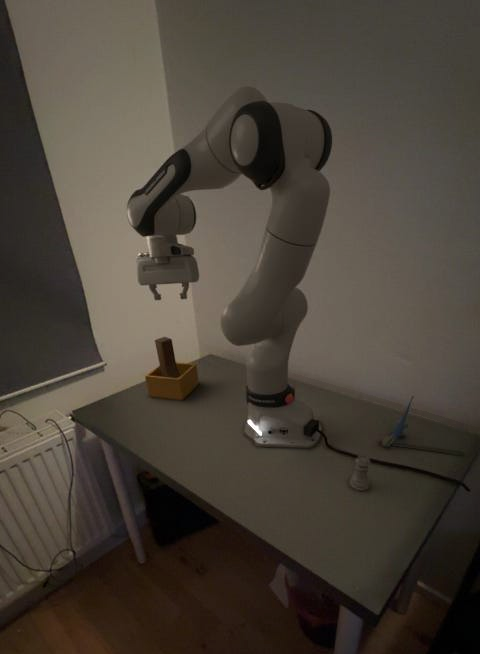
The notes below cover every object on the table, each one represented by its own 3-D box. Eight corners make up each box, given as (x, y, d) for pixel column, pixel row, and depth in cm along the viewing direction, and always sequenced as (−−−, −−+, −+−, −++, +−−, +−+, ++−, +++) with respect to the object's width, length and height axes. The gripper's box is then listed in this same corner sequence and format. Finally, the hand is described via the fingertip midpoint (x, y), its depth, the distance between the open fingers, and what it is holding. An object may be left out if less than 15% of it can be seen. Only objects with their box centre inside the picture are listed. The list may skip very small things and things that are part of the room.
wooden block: (187, 389, 127) (179, 341, 118) (177, 393, 125) (168, 345, 115) (173, 382, 133) (165, 336, 123) (163, 386, 131) (154, 339, 121)
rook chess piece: (365, 478, 83) (370, 451, 79) (372, 491, 79) (377, 463, 75) (346, 479, 83) (350, 452, 79) (352, 492, 79) (356, 465, 75)
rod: (461, 456, 88) (461, 454, 88) (380, 445, 94) (381, 443, 94) (460, 454, 89) (461, 452, 88) (380, 443, 95) (381, 441, 94)
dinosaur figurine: (389, 446, 99) (378, 444, 91) (410, 396, 96) (401, 390, 89) (399, 450, 97) (389, 449, 90) (421, 399, 95) (412, 394, 87)
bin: (198, 383, 133) (196, 364, 129) (182, 400, 122) (178, 379, 118) (167, 380, 137) (164, 361, 133) (149, 396, 127) (144, 376, 122)
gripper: (128, 253, 105) (137, 301, 111) (188, 247, 98) (194, 299, 104) (141, 253, 110) (148, 299, 116) (198, 248, 103) (203, 297, 109)
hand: (170, 299), depth 110 cm, fingers open, 8 cm apart
